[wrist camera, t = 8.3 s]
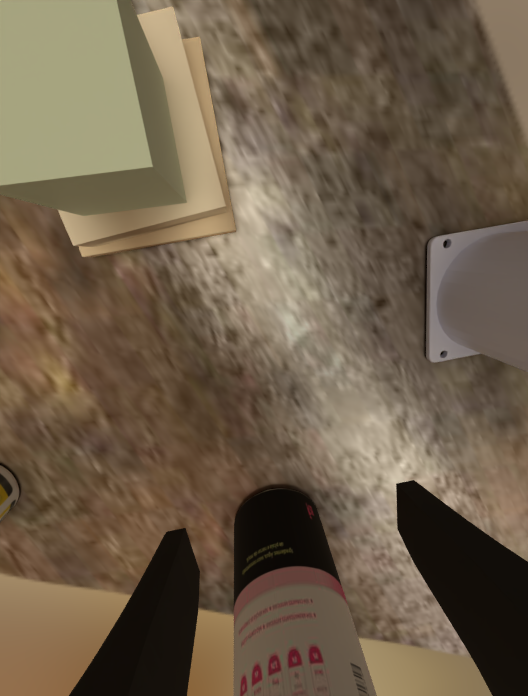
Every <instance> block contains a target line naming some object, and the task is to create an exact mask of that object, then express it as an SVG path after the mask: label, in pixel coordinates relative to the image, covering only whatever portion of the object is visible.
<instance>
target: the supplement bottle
mask: <svg viewBox="0 0 528 696" xmlns="http://www.w3.org/2000/svg"><path fill="white" fill-rule="evenodd" d="M18 498H19V487H18V484H17V481H16V479H15V478H14V476H13V475H12V474H11V473H10V472H9V471H8V470H7V469H6V468H4V467H3V466H1V465H0V522H1V521H2V519H3V518H4V517H5V516H6V515H7V514H8V513H9V511H10V510H11V509H12V508H13V507H14V505H15V504H16V502H17V500H18Z"/></svg>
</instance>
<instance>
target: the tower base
mask: <svg viewBox="0 0 528 696" xmlns="http://www.w3.org/2000/svg"><path fill="white" fill-rule="evenodd" d="M182 43H183V46H184V50H185V54H186V58H187V62H188V65H189V69H190V73H191V77H192V80H193V84H194V88H195V92H196V95H197V99H198V103H199V107H200V111H201V114H202V118H203V122H204V126H205V129H206V133H207V137H208V141H209V144H210V148H211V152H212V156H213V160H214V163H215V167H216V171H217V175H218V178H219V182H220V186H221V190H222V193H223V197H224V201H225V205H226V211H227V212H226V213H222V214H218V215H215V216H211V217H207V218H203V219H199V220H195V221H192V222H188V223H184V224H180V225H176V226H173V227H169V228H165V229H161V230H157V231H153V232H150V233H146V234H142V235H138V236H134V237H130V238H127V239H123V240H119V241H115V242H111V243H107V244H104V245H100V246H96V247H84V246H79V249H80V252H81V255H82V257H97V256H102V255H108V254H113V253H119V252H125V251H130V250H136V249H142V248H147V247H153V246H159V245H164V244H170V243H175V242H181V241H187V240H192V239H198V238H204V237H209V236H215V235H221V234H226V233H232V232H236V228H235V222H234V217H233V212H232V206H231V201H230V196H229V190H228V185H227V180H226V174H225V169H224V164H223V158H222V153H221V148H220V142H219V137H218V131H217V126H216V121H215V115H214V110H213V105H212V99H211V94H210V89H209V83H208V78H207V73H206V67H205V62H204V57H203V51H202V46H201V41H200V37H196V38H189V39H182Z"/></svg>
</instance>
